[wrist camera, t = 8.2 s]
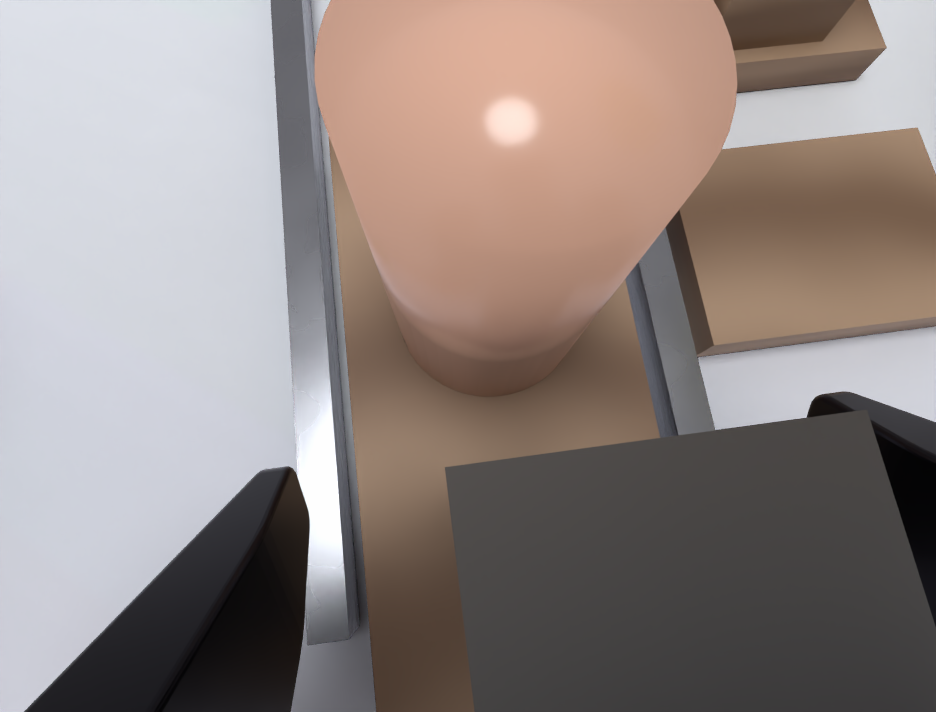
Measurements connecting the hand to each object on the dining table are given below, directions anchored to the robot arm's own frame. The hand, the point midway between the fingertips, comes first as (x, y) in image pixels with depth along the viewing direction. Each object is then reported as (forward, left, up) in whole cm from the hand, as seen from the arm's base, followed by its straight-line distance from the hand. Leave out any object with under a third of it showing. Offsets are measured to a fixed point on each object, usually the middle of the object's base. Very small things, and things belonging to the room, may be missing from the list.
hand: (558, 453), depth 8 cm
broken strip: (+14, 0, -8) cm, 16 cm away
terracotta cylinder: (+3, +3, -7) cm, 8 cm away
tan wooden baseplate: (+2, +2, -8) cm, 8 cm away
